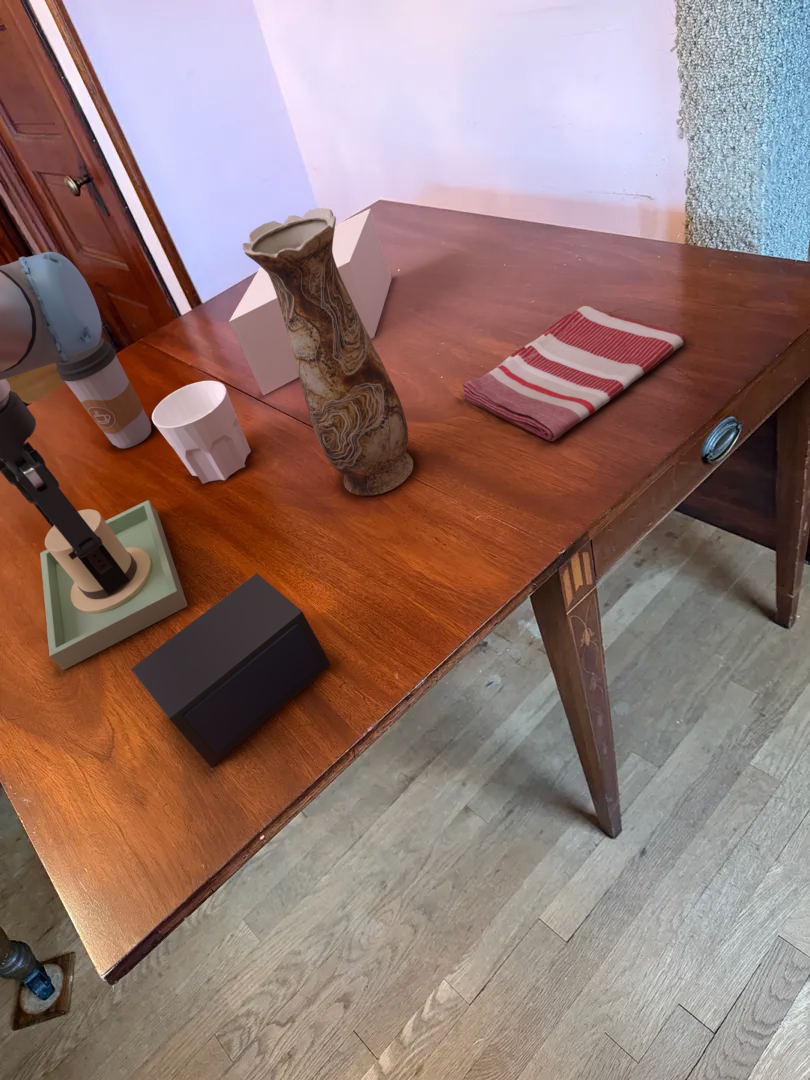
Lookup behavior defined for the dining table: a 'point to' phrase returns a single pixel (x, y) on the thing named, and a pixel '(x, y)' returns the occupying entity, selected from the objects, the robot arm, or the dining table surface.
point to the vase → (334, 354)
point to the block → (262, 314)
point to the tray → (93, 633)
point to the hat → (86, 587)
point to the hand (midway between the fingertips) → (96, 561)
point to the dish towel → (571, 370)
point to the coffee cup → (106, 394)
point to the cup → (203, 430)
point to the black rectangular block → (233, 667)
